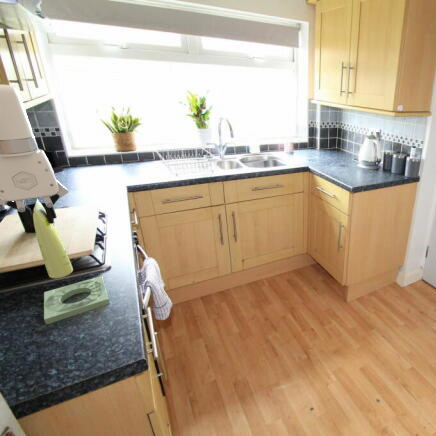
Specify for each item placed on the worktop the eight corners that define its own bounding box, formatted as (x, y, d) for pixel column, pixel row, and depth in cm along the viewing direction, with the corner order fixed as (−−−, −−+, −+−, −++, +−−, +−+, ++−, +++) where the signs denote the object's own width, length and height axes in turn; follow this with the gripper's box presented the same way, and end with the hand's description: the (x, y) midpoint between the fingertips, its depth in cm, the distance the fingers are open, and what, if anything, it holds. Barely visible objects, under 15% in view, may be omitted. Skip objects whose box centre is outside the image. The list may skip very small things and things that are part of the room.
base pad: (47, 328, 83) (43, 319, 81) (47, 300, 92) (44, 292, 91) (111, 307, 91) (108, 298, 89) (104, 283, 101) (102, 275, 99)
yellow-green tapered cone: (80, 270, 84) (55, 201, 76) (61, 281, 79) (33, 209, 71) (63, 266, 85) (37, 198, 77) (43, 277, 80) (14, 206, 72)
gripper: (-45, 153, 61) (-7, 238, 69) (62, 145, 70) (85, 220, 78) (-37, 146, 67) (-2, 225, 74) (61, 140, 76) (83, 210, 83)
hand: (42, 222), depth 76 cm, fingers closed on yellow-green tapered cone, 2 cm apart
